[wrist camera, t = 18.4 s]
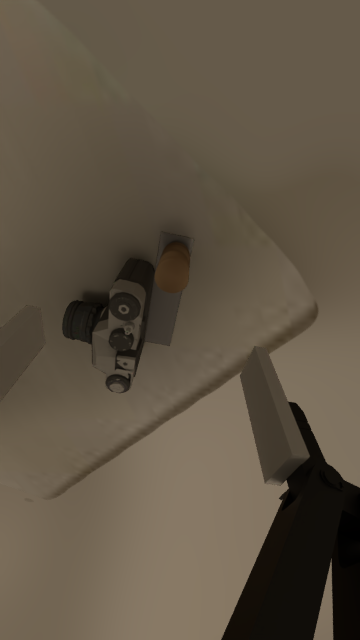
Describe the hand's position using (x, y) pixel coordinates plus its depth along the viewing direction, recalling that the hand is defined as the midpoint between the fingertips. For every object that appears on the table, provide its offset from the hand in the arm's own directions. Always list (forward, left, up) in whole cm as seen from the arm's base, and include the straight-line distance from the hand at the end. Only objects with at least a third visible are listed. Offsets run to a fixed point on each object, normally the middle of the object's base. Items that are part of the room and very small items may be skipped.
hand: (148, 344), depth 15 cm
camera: (-6, -10, -18) cm, 21 cm away
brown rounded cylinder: (+1, 0, -17) cm, 17 cm away
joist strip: (0, -6, -17) cm, 19 cm away
